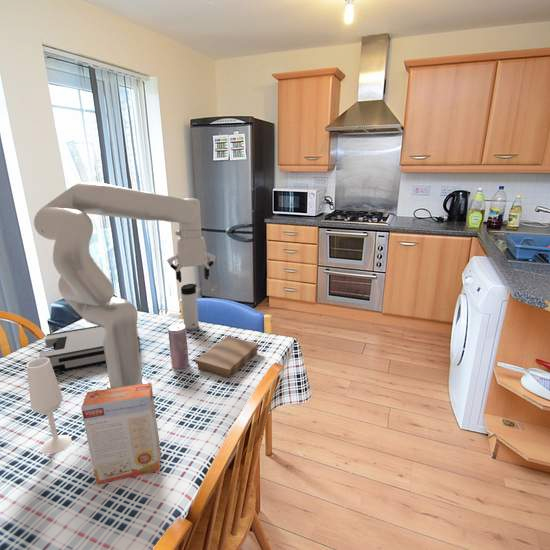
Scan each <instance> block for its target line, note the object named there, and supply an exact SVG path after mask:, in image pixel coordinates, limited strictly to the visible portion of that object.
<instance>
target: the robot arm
mask: <svg viewBox="0 0 550 550" xmlns="http://www.w3.org/2000/svg"><path fill="white" fill-rule="evenodd" d="M89 215H99V216H104V217H112V218H113V217H114V218H124V219H132V220H139V221H140V220H141V221H163V222H168V223H169V222H170V223H177V224H178V227H179V228H178V230H177V231H175V233H174V234H175V236H179V237H178V238H177V246H176V254H174V255H173V256H171V257H170V258H167V259H166V260H167V263H168V264H169V266H170V268H171V269H173V270H174V271H175V279H176V280H177V281H178V283H179V284H180V283H182V272H181V270H182V268H188V267H198V266H204V268H203V276H204V279H205V280H207V281H208V280H209V277H210V269H211V267H212V266H213V265H214V263H215V261H216V258H217V257H216V255H214V254H212V253H209V252H207V245H206V241H205V237H204V236H202V222H201V221H202V219H201V218H202V217H201V216H202V215H201V202H200V200H199V199H198V198H195V197H194V198H193V197H191V198H189V197H188V198H186V197H184V198H181V197H180V198H179V197H175V196H169V195H163V194H158V193H155V192H148V191H143V190H139V189H132V188H129V187H128V188H127V187H123V186H117V185H113V184H108V183H102V182H79V183H76V184H74V185H72V186H71V187H69V188H67V189H66V190H65V191H64V192H62V193H61V194H59V195H58V196H57V197H54V199H52V200H51V201H49V202H48V203H47V204H44V206H42V207H41V208H40V209H39V210H38V211H37V212H36V214H35V215H34V218H33V226H34V230H35V231H36V232H37V233H38V235H40V236H41V237H43V238H44V239H47V240H51V241H54V245H53V251H52V263H53V265H54V268H55V270H56V271H57V272H58V274H59V275H60V276H59V277H60V278H59V279H58V283H57V286H58V290H59V293H60V295H61V297H62V298H63V300H65V301H66V302H67V304H69V306H71V308H72V309H73V310H74V311H75V312H76V313H77V314H78V315H79V316H80V317H81V318H82V319H83V320H85V321H86V322H87V323H89V324H92V325H94V326H100V327H103V328H105V330H106V334H105V337H104V341H103V347H104V353H105V358H106V363H105V364H106V368H107V369H106V370H107V376H108V382H109V384H108V385H106V389H111V388H118V387H125V386H131V385H138V384H145V383H149V382H148V381H147V380H146V379H143V371H142V365H141V356H140V353H139V348H138V341H137V329H138V319H139V318H138V310H137V308H136V306H135V305H134V304H133V303H132V302H131V301H129V300H127V299H124V298H121V297H119V296H118V297H117V296H114V295H115V289H114V286H113V283H112V282H111V281H110V279H109V278H108V276H106V274H105V272H104V271H103V270H102V269H101V268H100V267H99V266H98V264H97V263H96V262H95V260H94V258H93V257H92V255H91V252H90V242H91V239H92V237H93V232H94V225H93V222H92V221H93V220H92V219H91V217H90V216H89ZM208 258H210V260H209V261H208ZM175 260H177V264H176V265H175V264H174V261H175Z"/></svg>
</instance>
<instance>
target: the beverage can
mask: <svg viewBox="0 0 550 550" xmlns="http://www.w3.org/2000/svg"><path fill="white" fill-rule="evenodd" d="M167 331H168V333H167V334H168V341H169V352H170V358H171V359H170V360H171V362H170V363H171V366H172V367H173V368H174V369H176V370H182V369H184V368H187V367H188V365H189V363H190V359H189V347H188V337H187V330H186V328H185V325H184V323H174V324H171V325H170V326H168V330H167Z"/></svg>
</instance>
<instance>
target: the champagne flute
mask: <svg viewBox="0 0 550 550" xmlns="http://www.w3.org/2000/svg"><path fill="white" fill-rule="evenodd" d="M25 366H26V372H27V381H28V383H27V384H28V392H29V400H30V401H29V402H30V407H31V409H32V410H33V411H34V412H35V413H38V414H41V415H45V416H47V419H48V424H49V427H50V433H51V437H52V438H50V439H48V440H47V441H46V442H45V443H44V444H43V445H42V447H43V448H42V447H41V451H42V450H43V452H44V453H43V452H42V453H43V454H45V453H47V454H46V455H53V454H54V453H55V454H58V453H60V452H62V451H64V450H65V449H68V448H67V447H69V446H70V444H71V443H72V437H71V436H70V435H67V434H61V435H60V434H59V435H58V430H57V426H56V423H55V417H54V412H55V411H56V410H57V409H58V408H59V407H60V406H61V404H62V402H63V398H64V397H63V394H62V391H61V388H60V385H59V382H58V379H57V376H56V373H55V370H53V368H52V365H51V362H50V359H49V358H46V357H43V358H39V357H38V358H35V359H32V360H30V361H29V362H27V363H26V365H25ZM57 452H58V453H57ZM48 453H49V454H48Z"/></svg>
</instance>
